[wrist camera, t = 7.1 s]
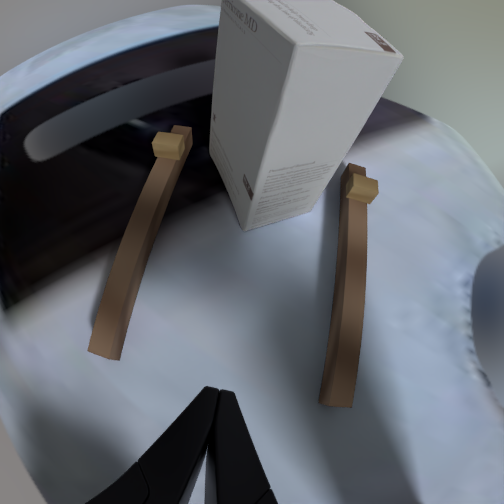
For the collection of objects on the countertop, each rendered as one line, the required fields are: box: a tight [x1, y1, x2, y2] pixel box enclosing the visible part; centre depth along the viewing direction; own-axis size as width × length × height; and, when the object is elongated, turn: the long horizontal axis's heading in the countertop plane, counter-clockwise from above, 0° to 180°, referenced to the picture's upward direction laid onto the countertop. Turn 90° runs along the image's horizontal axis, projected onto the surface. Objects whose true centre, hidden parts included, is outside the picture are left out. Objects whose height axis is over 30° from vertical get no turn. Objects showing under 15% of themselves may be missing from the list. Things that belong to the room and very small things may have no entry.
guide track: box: [88, 125, 378, 408], centre depth 19 cm, size 18×16×4 cm
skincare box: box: [209, 0, 403, 231], centre depth 16 cm, size 8×6×15 cm
